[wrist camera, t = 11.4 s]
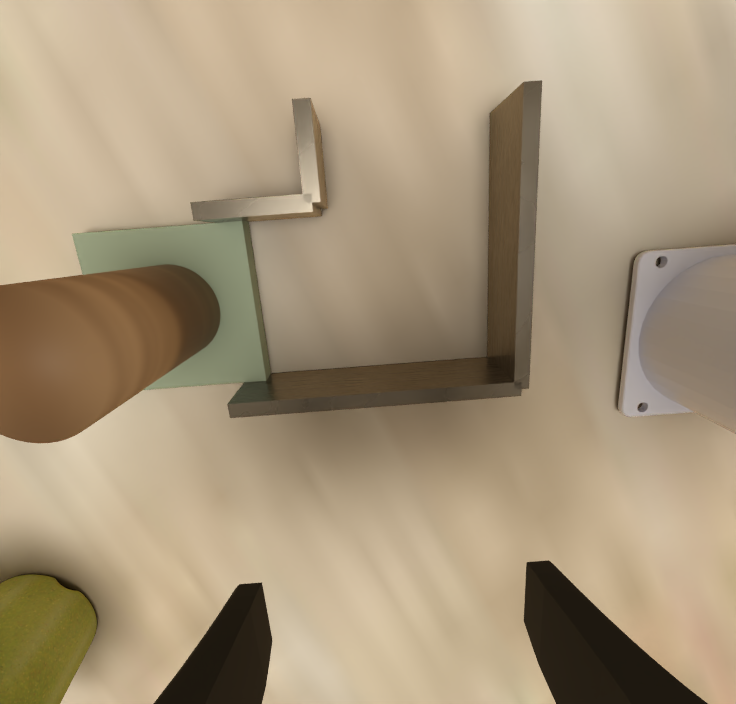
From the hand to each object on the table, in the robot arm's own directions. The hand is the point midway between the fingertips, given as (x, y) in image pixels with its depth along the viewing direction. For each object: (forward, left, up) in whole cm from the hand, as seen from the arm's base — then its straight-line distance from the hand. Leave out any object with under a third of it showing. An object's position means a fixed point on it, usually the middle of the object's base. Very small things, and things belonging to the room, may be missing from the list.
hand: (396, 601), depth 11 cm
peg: (+9, -7, -9) cm, 14 cm away
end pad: (+9, -7, -10) cm, 15 cm away
